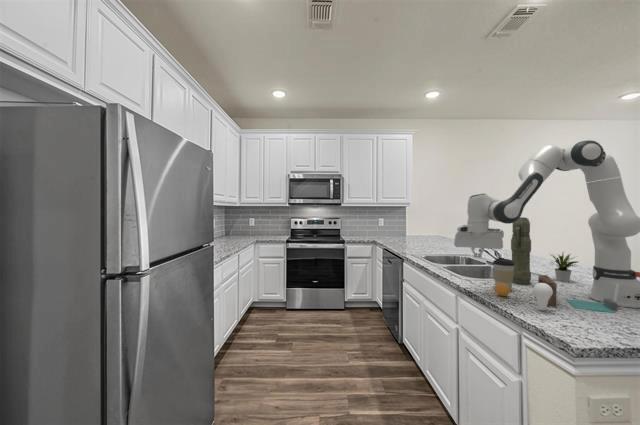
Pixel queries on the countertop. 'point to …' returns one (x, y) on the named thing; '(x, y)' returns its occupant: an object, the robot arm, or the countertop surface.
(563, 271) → the house plant
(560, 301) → the countertop surface
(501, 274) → the coffee cup
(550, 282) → the bridge
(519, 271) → the thermos
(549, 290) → the lightbulb
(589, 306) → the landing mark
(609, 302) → the stopper wall
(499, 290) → the ball
